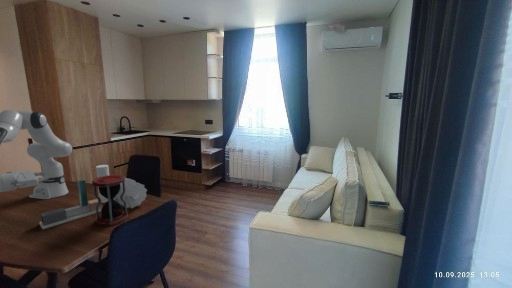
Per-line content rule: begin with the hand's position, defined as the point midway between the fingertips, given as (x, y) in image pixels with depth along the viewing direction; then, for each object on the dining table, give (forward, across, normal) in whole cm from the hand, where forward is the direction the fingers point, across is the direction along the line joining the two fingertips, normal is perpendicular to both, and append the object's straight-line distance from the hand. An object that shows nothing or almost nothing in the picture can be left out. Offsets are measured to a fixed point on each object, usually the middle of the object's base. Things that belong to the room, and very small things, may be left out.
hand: (46, 175), depth 129 cm
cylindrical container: (+30, +12, +29) cm, 44 cm away
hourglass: (+23, -20, +28) cm, 42 cm away
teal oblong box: (+12, -1, +26) cm, 29 cm away
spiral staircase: (+38, -6, +29) cm, 48 cm away
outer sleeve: (+1, -1, +27) cm, 27 cm away
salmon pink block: (+21, -1, +27) cm, 34 cm away
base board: (+10, -1, +28) cm, 30 cm away
